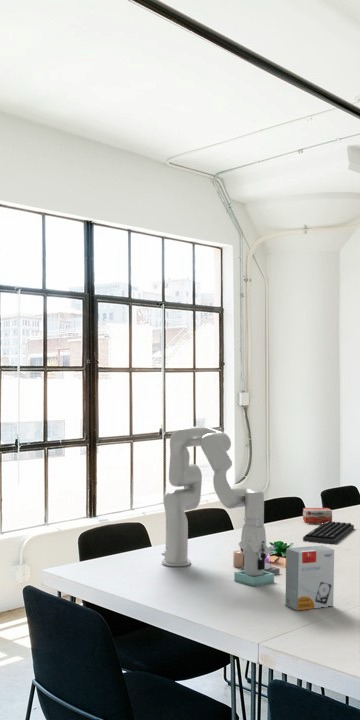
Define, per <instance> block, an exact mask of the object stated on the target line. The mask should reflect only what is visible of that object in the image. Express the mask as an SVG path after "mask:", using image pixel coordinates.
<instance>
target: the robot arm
mask: <svg viewBox="0 0 360 720" xmlns="http://www.w3.org/2000/svg"><path fill="white" fill-rule="evenodd" d="M231 444H232V442H231V438H230V436H229V435H228V434H227V433H225V432H224V431H223V432H222V431H219V430H217V429H213V428H211V427H207V426H202V425H201V426H183V427H180V428H179V427H178V428H177V429H176V430H174V431H173V432H172V433H171V435H170V439H169V449H170V450H169V455H170V456H169V464H168V465H169V467H168V469H169V470H168V481H169V483H170V485H171V486H173V487H175V488H176V487H177V489H173V490H169V491H168V492H167V493H166V494H165V495H164V497H163V506H164V512H165V550H164V551H163V552H161V556H163V557H164V558H163V559H162V560H161V564H162V565H163V566H168V567H187V566H191V564H192V559H189V558H188V553H189V552H188V551H189V549H188V547H189V546H188V544H189V543H188V540H189V536H188V535H189V530H188V529H189V525H188V524H189V523H188V518H187V515H186V511H191V510H194V509H197V508H198V506H199V505H200V503H201V497H202V484H203V483H202V481H203V480H202V479H203V477H202V476H203V475H202V471H201V469H200V467H199V465H197V464H195V463H191V462H190V457H191V456H190V452H189V449H188V447H190V448H191V447H200V448H201V450H202V452H203V454H204V455H205V457H206V460H207V461H208V464H209V465H210V466H211V469H212V470H213V477H212V478H213V489H214V491H215V493H216V495H217V497H218V500H219V501H220V503H221V504H222V505H223V506H224V507H225V508H226V509H236V508H242V507H244V518H243V520H244V524H243V525H242V530H241V537H240V539H241V540H240V541H239V543H238V546H239V548H240V550H241V551H242V555H244V549H245V548H246V547H247V546H251V549H252V550H253V552H254V553H258V557H259V560H258V570H263V569H265V563H266V562H265V559H266V557H267V556H268V554H269V553H271V549H270V548H269V547H268V546H267V536H266V535H267V534H266V528H265V524H264V522H265V493H264V492H263V491H262V490H259V489H250V488H247V487H236V488H235V487H234V488H232V487H231V486H230V484H229V483H228V482H229V481H228V480H227V472H228V470H230V469H231V468H232V467H233V462H232V460H231V457H230V456H229V454H228V451H229V450H230V449H231V446H232V445H231ZM181 487H183V488H181ZM246 545H247V546H246ZM261 549H262V551H261ZM260 553H262V556H261V554H260ZM243 565H244V556H243Z"/></svg>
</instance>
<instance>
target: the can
mask: <svg viewBox="0 0 360 720" xmlns="http://www.w3.org/2000/svg"><path fill="white" fill-rule="evenodd" d="M246 546H247V545H246ZM261 551H262V549H261ZM260 554H261V556H262V553H260ZM258 560H259V557H258V553H254V552H253V550H252V549H251V546H247V547H246V548H245V549H244V573H245V574H246V575H248V576H252V577H258V576H261V575H262V574H263V570H258Z"/></svg>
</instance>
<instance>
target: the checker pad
mask: <svg viewBox="0 0 360 720" xmlns="http://www.w3.org/2000/svg"><path fill="white" fill-rule="evenodd" d="M272 567H273V566H272V564H271V563H270V562H265V569H263V570H270V569H271V568H272Z"/></svg>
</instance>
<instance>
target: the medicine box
mask: <svg viewBox="0 0 360 720" xmlns="http://www.w3.org/2000/svg"><path fill="white" fill-rule="evenodd" d="M302 509H303V510H302V521H303V520H304V521H305V522H306V523H325V522H326V521H330V522H333V511H332V509H330V507H329V508H328V507H304V508H302ZM305 522H304V523H305ZM306 523H305V524H306Z"/></svg>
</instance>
